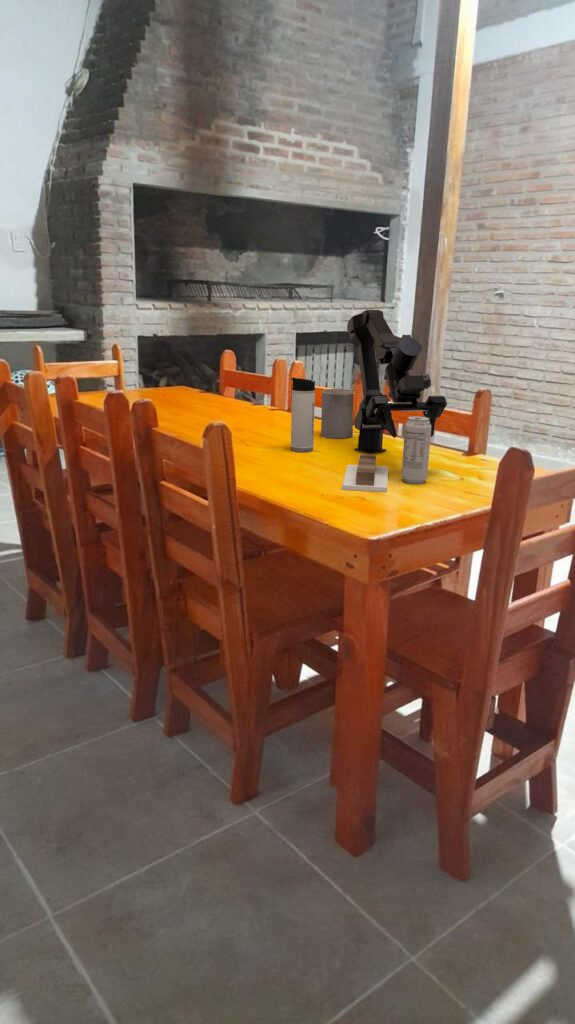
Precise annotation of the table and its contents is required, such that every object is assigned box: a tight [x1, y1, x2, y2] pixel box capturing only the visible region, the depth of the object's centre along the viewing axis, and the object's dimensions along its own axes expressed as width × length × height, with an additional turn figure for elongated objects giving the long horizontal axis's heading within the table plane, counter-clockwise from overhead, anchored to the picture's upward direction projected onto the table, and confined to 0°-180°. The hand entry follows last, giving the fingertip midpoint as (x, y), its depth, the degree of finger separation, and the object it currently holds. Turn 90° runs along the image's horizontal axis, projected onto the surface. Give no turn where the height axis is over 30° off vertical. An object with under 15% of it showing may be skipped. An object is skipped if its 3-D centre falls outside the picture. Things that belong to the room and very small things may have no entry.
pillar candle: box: [320, 386, 355, 440], centre depth 218 cm, size 10×10×15 cm
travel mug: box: [290, 377, 316, 453], centre depth 197 cm, size 6×7×20 cm
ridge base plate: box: [341, 464, 389, 493], centre depth 170 cm, size 20×10×1 cm, turn 172°
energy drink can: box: [401, 415, 432, 485], centre depth 168 cm, size 6×6×15 cm
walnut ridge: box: [356, 454, 377, 486], centre depth 170 cm, size 18×4×3 cm, turn 172°
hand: (413, 436), depth 169 cm, fingers open, 9 cm apart
